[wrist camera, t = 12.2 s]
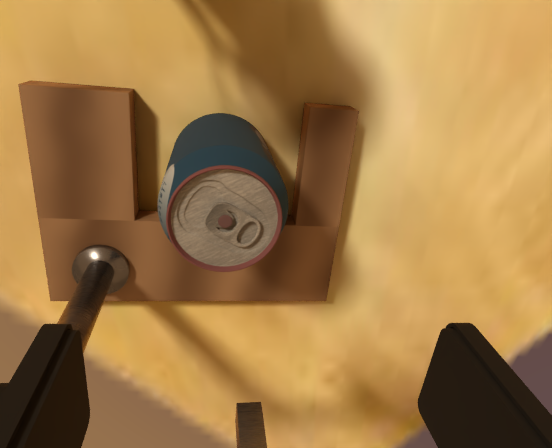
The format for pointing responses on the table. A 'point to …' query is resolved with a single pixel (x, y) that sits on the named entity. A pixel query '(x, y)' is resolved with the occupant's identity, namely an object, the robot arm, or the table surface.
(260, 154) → the soda can
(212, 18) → the table surface
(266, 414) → the table surface
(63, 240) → the u-shaped wooden block
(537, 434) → the robot arm
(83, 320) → the knobbed metal rod
